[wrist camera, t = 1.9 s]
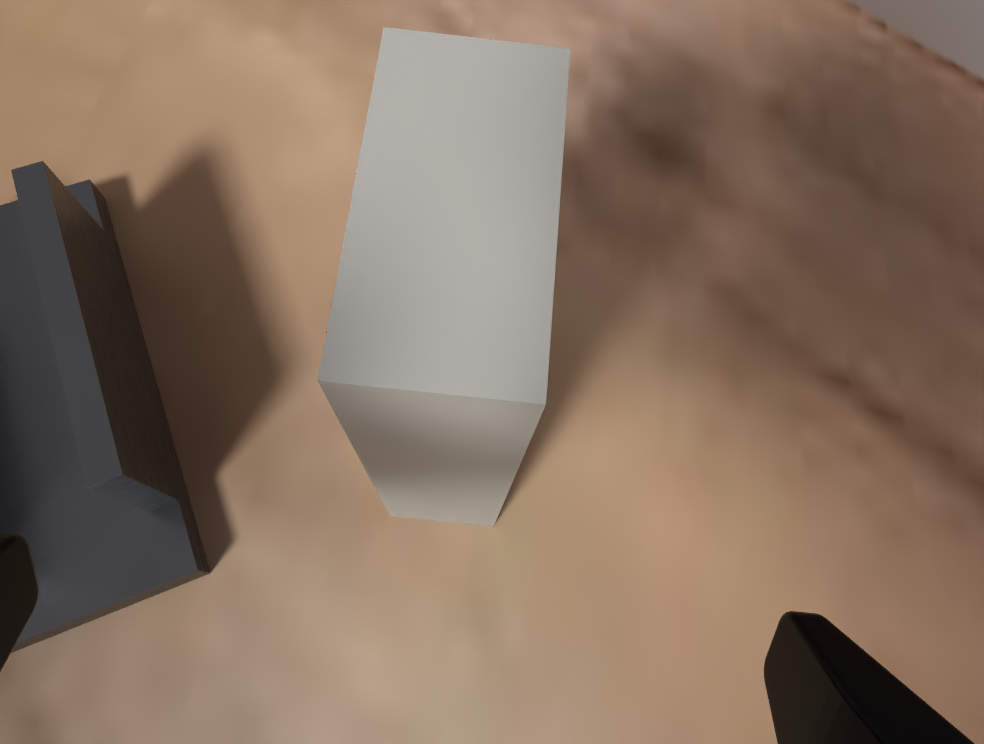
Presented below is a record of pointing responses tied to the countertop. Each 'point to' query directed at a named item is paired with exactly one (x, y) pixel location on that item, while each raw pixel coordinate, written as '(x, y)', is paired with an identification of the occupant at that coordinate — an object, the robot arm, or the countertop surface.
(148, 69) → the countertop surface
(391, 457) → the panel
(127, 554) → the panel rack
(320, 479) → the countertop surface
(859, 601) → the countertop surface
